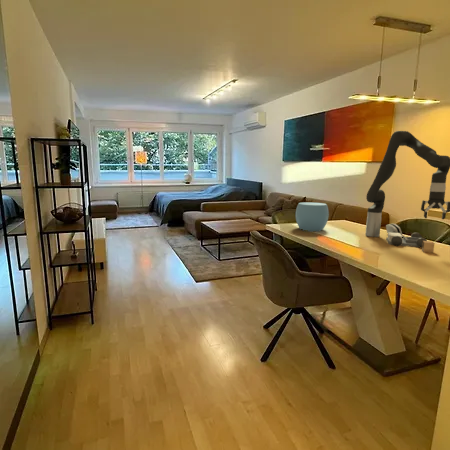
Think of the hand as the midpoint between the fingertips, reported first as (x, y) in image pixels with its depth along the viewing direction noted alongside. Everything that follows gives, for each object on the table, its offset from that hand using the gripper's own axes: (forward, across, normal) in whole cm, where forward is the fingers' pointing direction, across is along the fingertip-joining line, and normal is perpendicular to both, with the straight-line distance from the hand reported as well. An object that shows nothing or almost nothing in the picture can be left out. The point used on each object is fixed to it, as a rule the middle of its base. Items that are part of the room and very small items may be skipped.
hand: (434, 218), depth 190 cm
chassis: (+19, -11, +17) cm, 28 cm away
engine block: (+20, -2, -3) cm, 20 cm away
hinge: (+19, -16, +41) cm, 48 cm away
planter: (+19, -75, +39) cm, 87 cm away
